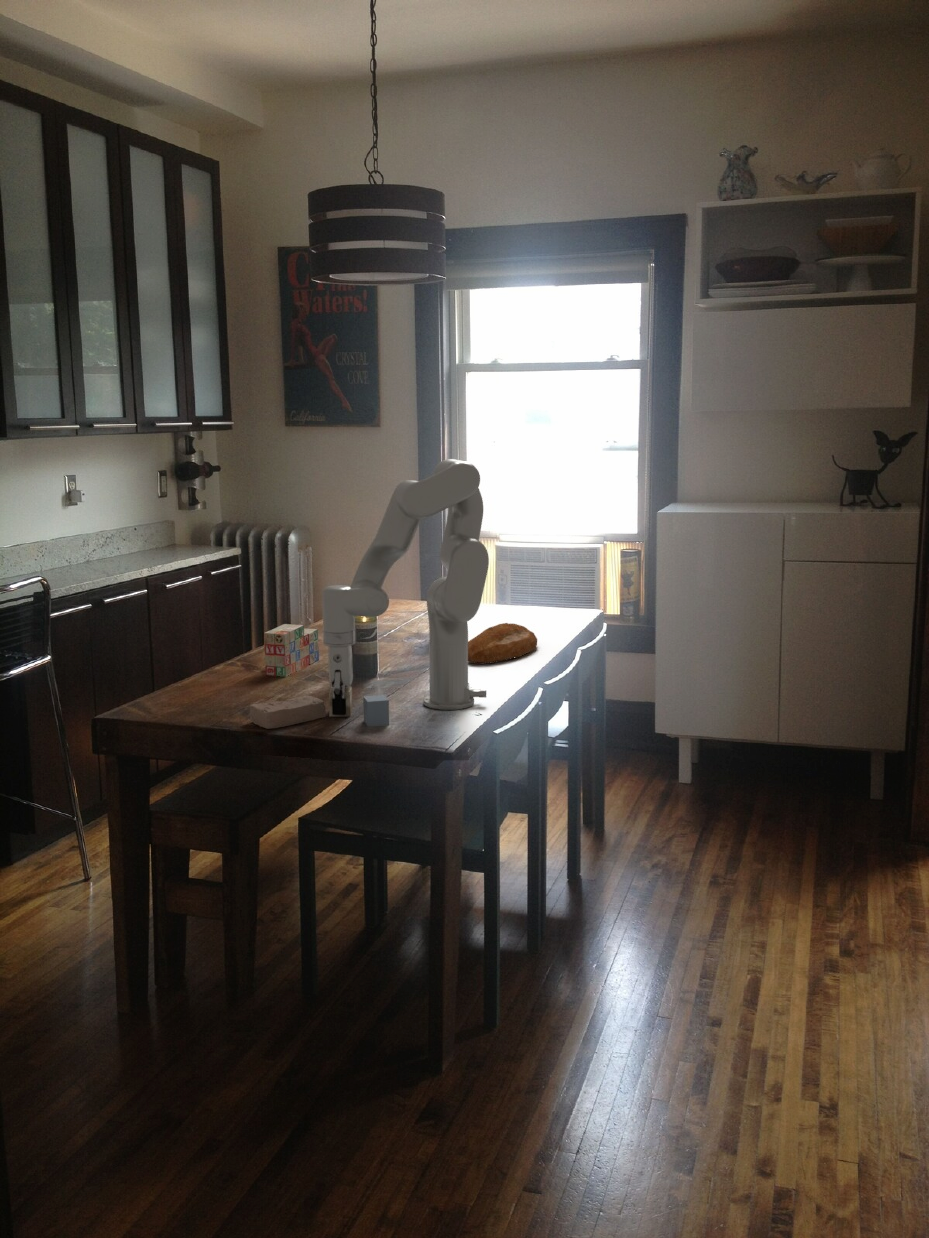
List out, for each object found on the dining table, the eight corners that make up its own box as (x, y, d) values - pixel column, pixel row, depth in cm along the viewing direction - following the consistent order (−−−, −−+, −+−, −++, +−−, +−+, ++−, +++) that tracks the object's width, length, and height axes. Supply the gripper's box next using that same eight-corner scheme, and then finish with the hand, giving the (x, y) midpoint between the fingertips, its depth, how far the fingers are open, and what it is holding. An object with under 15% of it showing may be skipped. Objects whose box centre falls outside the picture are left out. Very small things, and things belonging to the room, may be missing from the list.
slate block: (384, 719, 260) (384, 694, 259) (389, 725, 255) (388, 700, 254) (363, 720, 258) (363, 696, 257) (367, 726, 254) (367, 701, 253)
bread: (443, 662, 317) (443, 632, 315) (503, 640, 347) (503, 612, 345) (496, 670, 308) (496, 639, 306) (553, 646, 338) (553, 618, 336)
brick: (308, 710, 268) (308, 692, 267) (327, 718, 261) (327, 699, 260) (248, 724, 257) (247, 704, 256) (266, 732, 251) (265, 712, 250)
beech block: (352, 710, 267) (351, 686, 266) (350, 716, 262) (349, 692, 261) (331, 710, 267) (330, 686, 266) (329, 716, 262) (328, 692, 261)
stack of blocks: (299, 658, 321) (298, 617, 318) (319, 660, 319) (318, 618, 316) (265, 676, 301) (263, 632, 298) (286, 677, 299) (284, 633, 296)
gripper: (352, 645, 252) (353, 720, 256) (357, 630, 269) (359, 700, 273) (319, 645, 252) (321, 720, 256) (327, 630, 269) (328, 700, 273)
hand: (340, 709), depth 264 cm, fingers open, 6 cm apart
